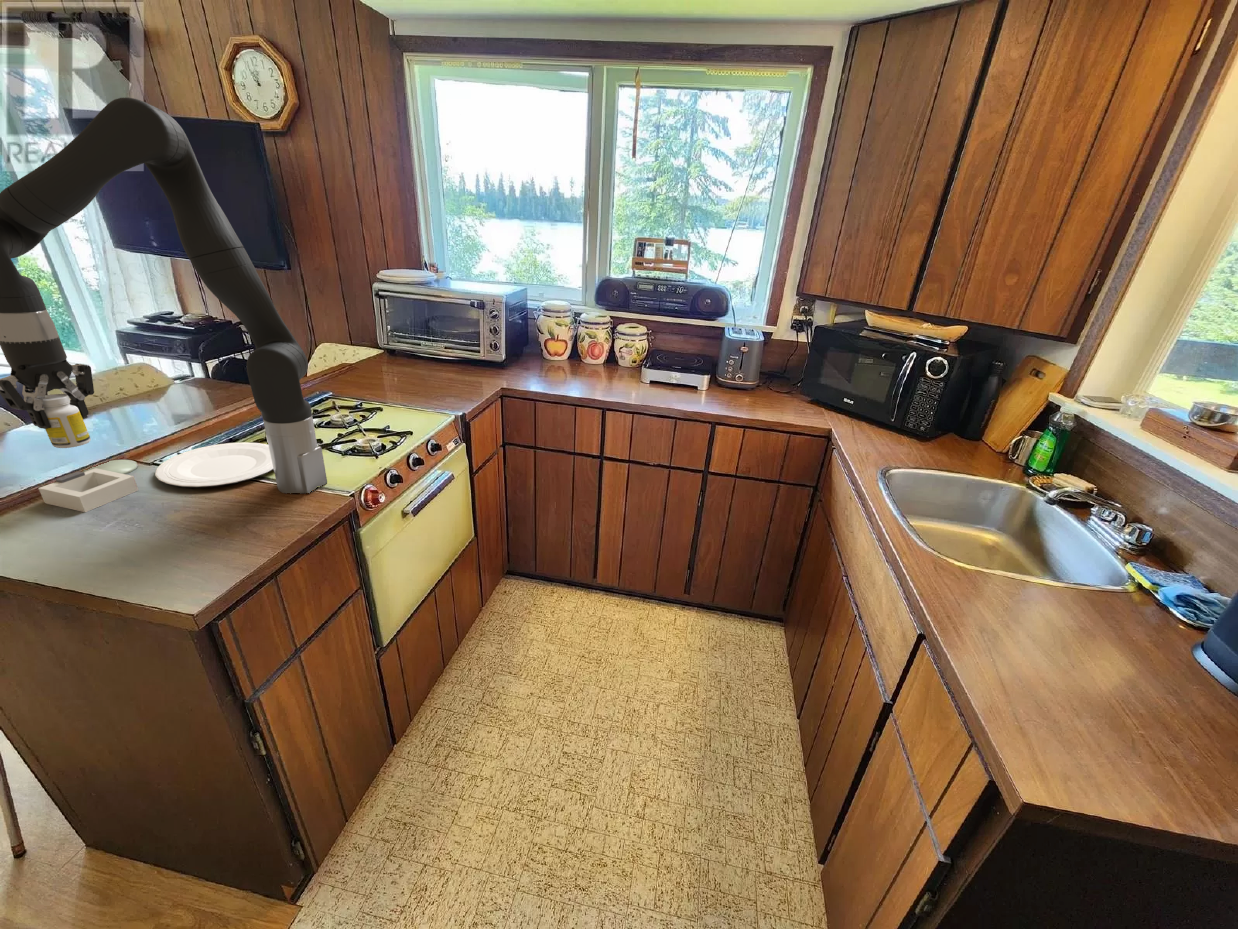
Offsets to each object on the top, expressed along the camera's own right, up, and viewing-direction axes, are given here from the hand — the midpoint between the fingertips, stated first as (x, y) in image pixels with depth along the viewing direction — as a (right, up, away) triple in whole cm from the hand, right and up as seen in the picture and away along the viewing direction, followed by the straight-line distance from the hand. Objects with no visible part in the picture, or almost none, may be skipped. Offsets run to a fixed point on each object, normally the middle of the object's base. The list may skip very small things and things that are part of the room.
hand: (63, 422), depth 97 cm
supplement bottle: (0, -4, +2) cm, 5 cm away
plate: (+13, -10, +24) cm, 29 cm away
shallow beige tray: (-2, -15, +7) cm, 17 cm away
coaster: (-9, -10, +17) cm, 22 cm away
